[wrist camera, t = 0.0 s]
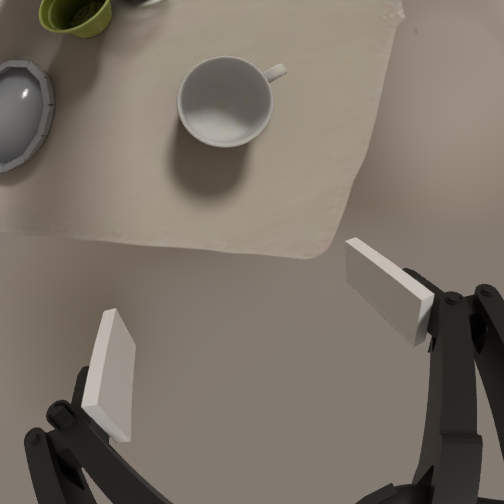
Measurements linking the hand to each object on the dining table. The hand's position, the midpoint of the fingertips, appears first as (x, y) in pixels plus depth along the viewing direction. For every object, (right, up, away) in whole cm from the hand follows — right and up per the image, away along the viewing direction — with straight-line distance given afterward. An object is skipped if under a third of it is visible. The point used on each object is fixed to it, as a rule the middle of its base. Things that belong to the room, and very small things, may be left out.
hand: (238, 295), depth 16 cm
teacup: (-3, +23, +21) cm, 31 cm away
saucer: (-34, +22, +12) cm, 42 cm away
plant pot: (-21, +34, +11) cm, 41 cm away
